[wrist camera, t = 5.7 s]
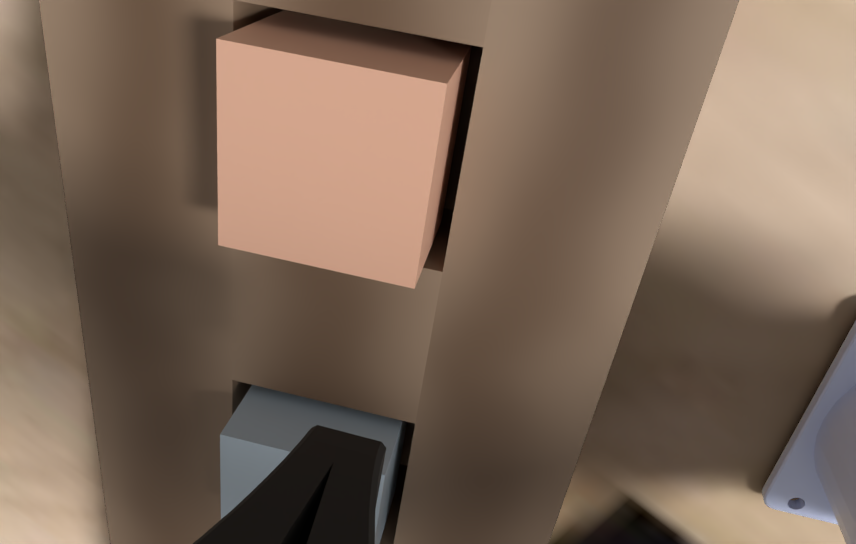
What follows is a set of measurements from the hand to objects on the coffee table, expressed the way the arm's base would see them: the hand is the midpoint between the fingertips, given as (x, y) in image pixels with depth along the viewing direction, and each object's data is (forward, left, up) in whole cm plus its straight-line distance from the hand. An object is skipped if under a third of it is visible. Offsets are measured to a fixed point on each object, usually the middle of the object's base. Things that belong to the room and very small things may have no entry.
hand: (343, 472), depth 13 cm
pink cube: (+2, -4, -7) cm, 8 cm away
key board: (+2, +6, -10) cm, 11 cm away
